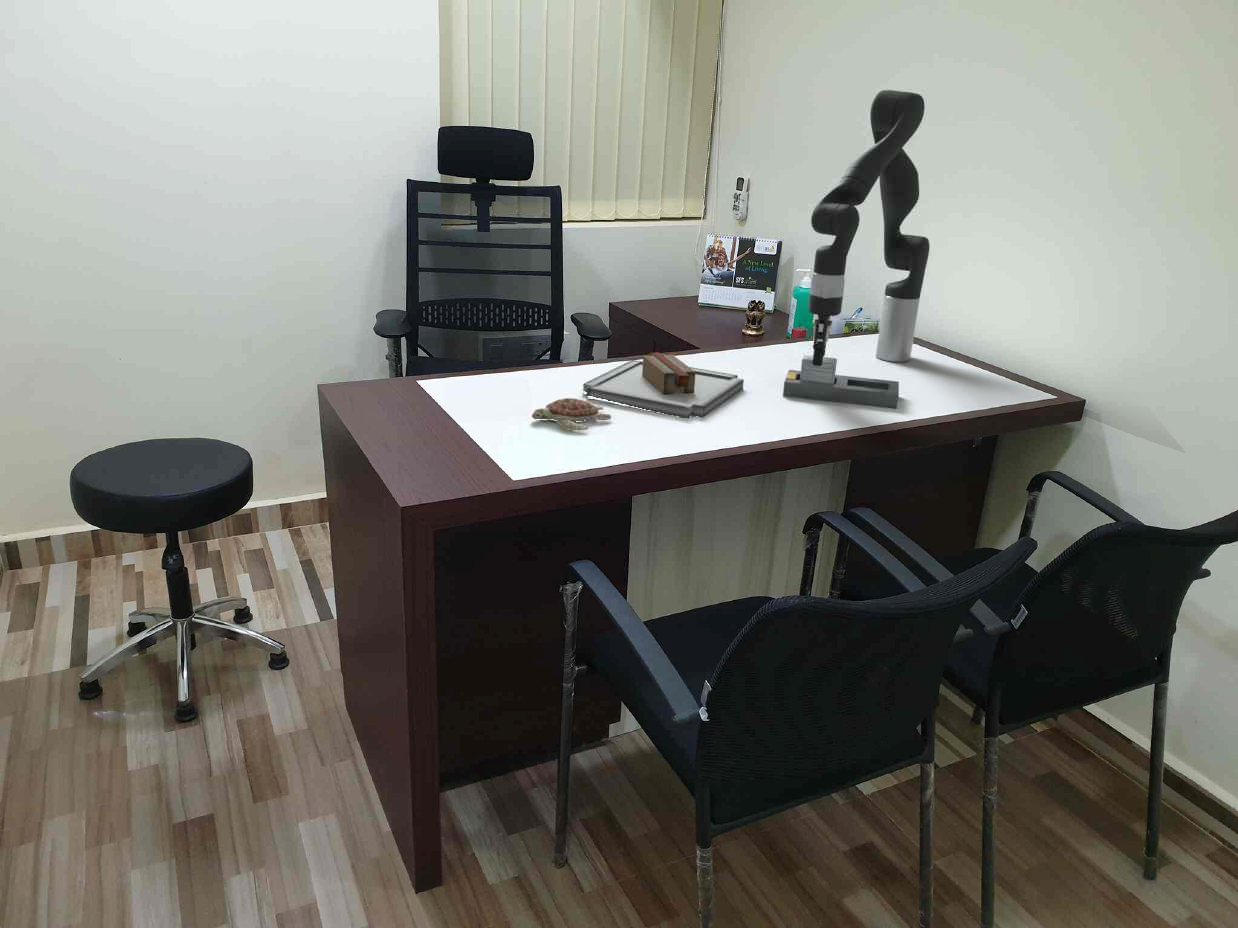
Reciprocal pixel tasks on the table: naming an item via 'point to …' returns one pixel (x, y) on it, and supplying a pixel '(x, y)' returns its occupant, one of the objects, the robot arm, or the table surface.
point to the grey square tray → (665, 386)
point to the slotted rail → (844, 390)
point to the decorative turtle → (570, 413)
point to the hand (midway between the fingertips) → (818, 360)
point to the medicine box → (818, 370)
